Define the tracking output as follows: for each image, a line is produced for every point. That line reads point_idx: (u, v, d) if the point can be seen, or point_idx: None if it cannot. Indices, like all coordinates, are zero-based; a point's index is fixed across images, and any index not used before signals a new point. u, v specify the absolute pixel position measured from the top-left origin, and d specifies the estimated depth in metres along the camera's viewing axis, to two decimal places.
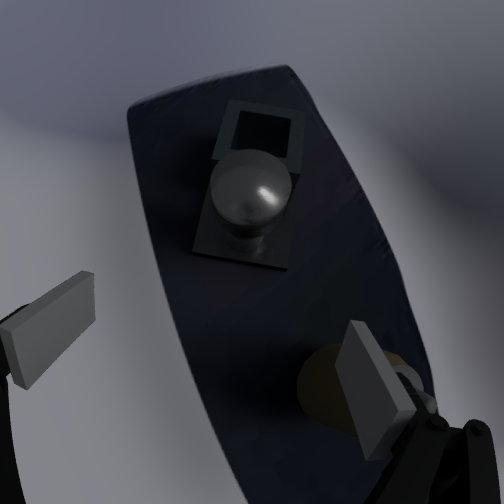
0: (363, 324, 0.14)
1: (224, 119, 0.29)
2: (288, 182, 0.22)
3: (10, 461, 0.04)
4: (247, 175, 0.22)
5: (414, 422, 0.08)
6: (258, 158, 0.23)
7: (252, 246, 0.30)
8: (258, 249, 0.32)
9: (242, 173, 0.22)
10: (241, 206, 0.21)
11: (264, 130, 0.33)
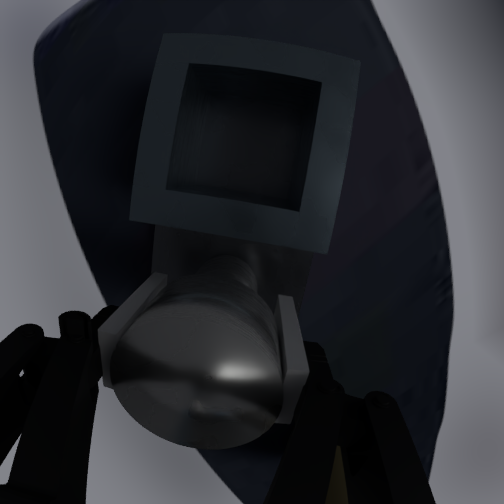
0: (290, 298, 0.15)
1: (150, 98, 0.11)
2: (276, 399, 0.09)
3: (81, 472, 0.05)
4: (181, 384, 0.09)
5: None
6: (204, 345, 0.09)
7: None
8: None
9: (170, 378, 0.09)
10: (180, 432, 0.10)
11: (258, 87, 0.13)
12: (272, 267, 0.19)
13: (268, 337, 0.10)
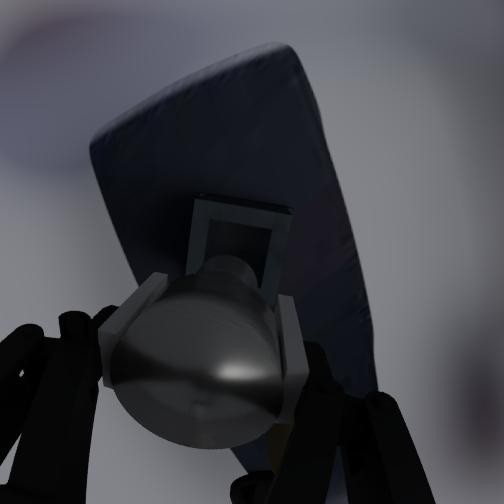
0: (290, 298, 0.15)
1: (191, 234, 0.27)
2: (277, 398, 0.09)
3: (81, 472, 0.05)
4: (181, 383, 0.09)
5: None
6: (204, 344, 0.09)
7: None
8: None
9: (170, 378, 0.09)
10: (180, 432, 0.10)
11: None
12: None
13: (268, 337, 0.10)
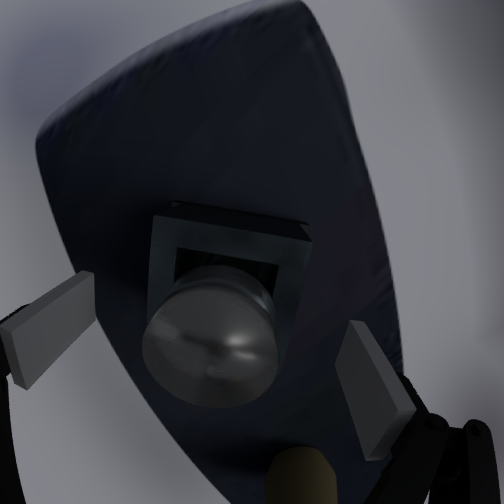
0: (363, 324, 0.14)
1: (151, 272, 0.16)
2: (272, 364, 0.12)
3: (10, 461, 0.04)
4: (199, 353, 0.12)
5: (414, 422, 0.08)
6: (217, 322, 0.12)
7: None
8: None
9: (190, 349, 0.12)
10: (197, 394, 0.13)
11: None
12: None
13: (265, 315, 0.13)
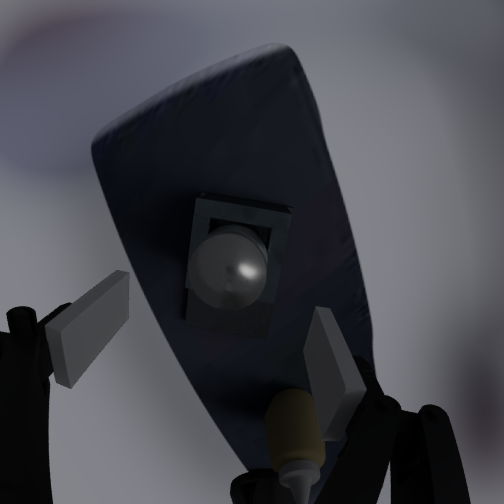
0: (328, 310, 0.15)
1: (192, 233, 0.27)
2: (263, 275, 0.23)
3: (43, 464, 0.05)
4: (222, 268, 0.23)
5: (366, 403, 0.09)
6: (232, 248, 0.22)
7: None
8: (241, 324, 0.36)
9: (217, 266, 0.23)
10: (219, 299, 0.24)
11: None
12: None
13: (259, 248, 0.24)
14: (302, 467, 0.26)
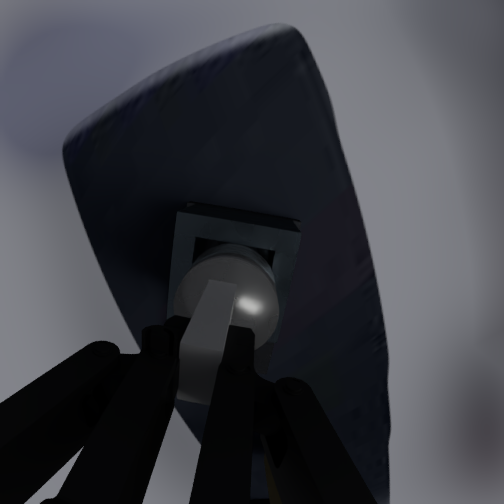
0: (233, 286, 0.16)
1: (173, 257, 0.21)
2: (275, 310, 0.17)
3: (140, 491, 0.05)
4: None
5: None
6: (233, 276, 0.16)
7: None
8: None
9: None
10: None
11: None
12: None
13: (268, 275, 0.18)
14: None
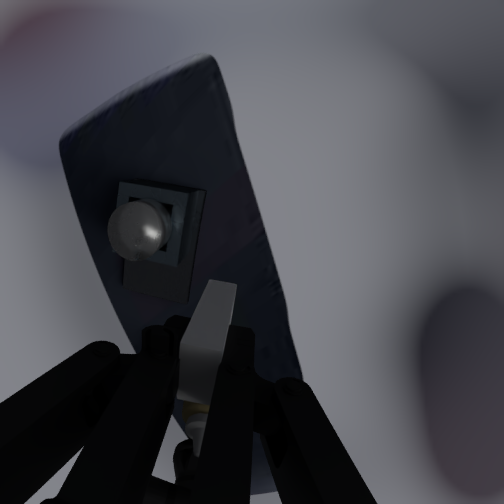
0: (233, 285, 0.16)
1: None
2: (158, 231, 0.29)
3: (140, 491, 0.05)
4: (129, 227, 0.29)
5: None
6: (136, 211, 0.28)
7: None
8: (165, 289, 0.42)
9: (126, 225, 0.29)
10: (128, 252, 0.29)
11: None
12: (174, 270, 0.41)
13: (158, 213, 0.30)
14: (202, 419, 0.32)
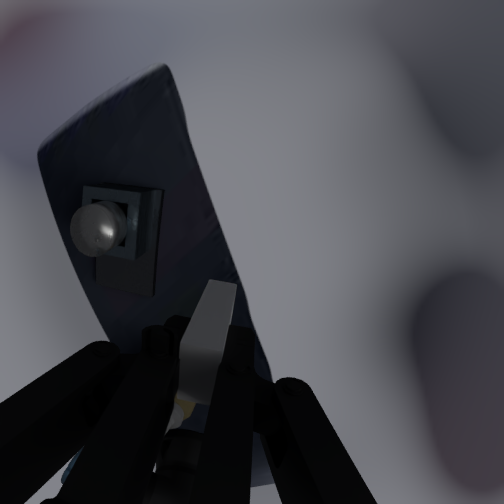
0: (233, 286, 0.16)
1: None
2: (110, 229, 0.31)
3: (140, 491, 0.05)
4: (87, 227, 0.31)
5: None
6: (91, 212, 0.30)
7: None
8: (132, 284, 0.44)
9: (84, 225, 0.31)
10: (88, 249, 0.31)
11: None
12: (139, 265, 0.43)
13: (111, 213, 0.32)
14: None
